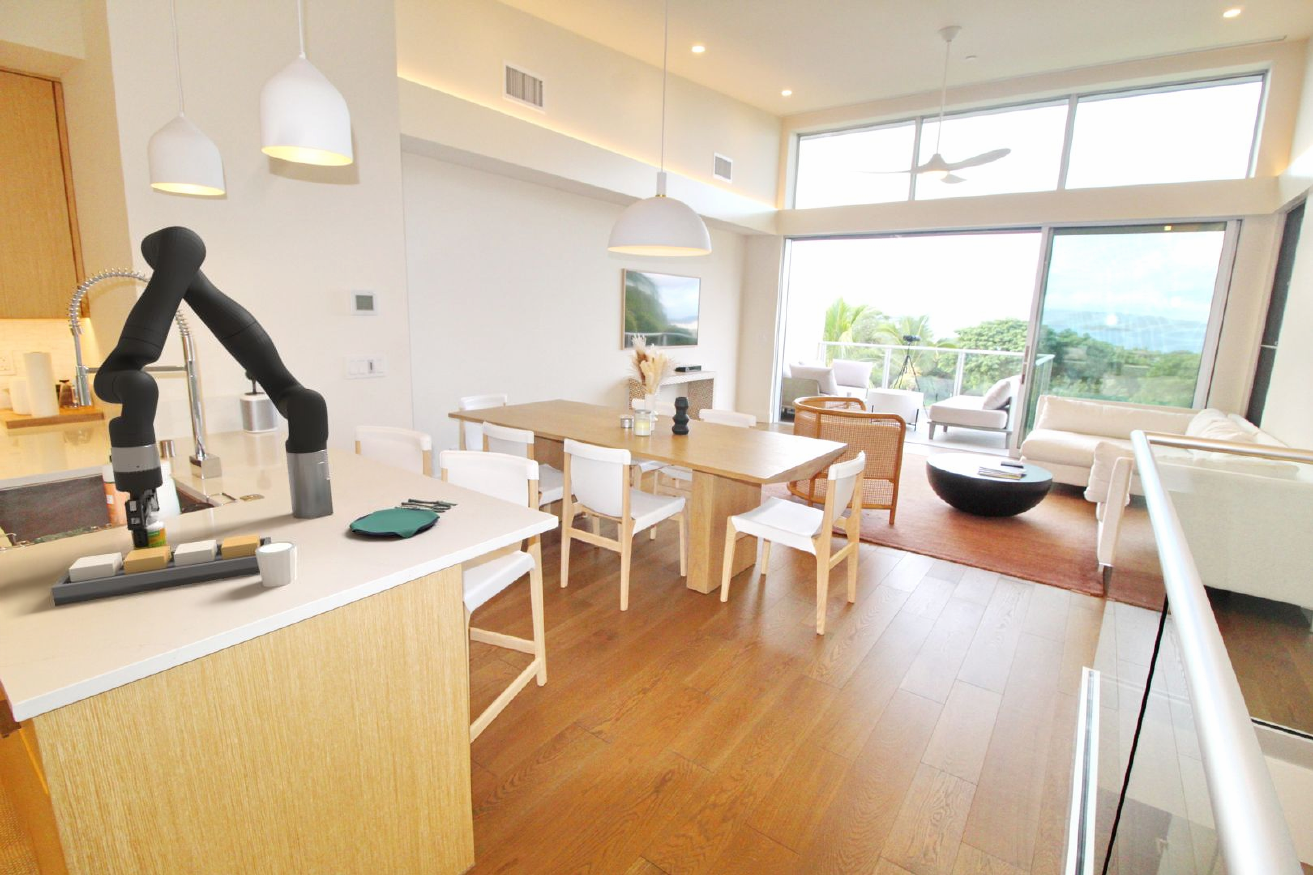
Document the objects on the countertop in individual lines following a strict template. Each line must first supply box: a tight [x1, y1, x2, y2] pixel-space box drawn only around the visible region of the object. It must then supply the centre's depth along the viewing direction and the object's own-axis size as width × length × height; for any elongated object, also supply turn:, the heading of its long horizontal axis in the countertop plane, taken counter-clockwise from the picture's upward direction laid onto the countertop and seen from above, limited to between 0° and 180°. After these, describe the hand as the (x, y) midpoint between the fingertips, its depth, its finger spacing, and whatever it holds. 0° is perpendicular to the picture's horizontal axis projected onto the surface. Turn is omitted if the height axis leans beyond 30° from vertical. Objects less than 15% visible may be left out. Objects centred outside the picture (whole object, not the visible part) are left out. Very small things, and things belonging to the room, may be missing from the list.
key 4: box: [68, 551, 123, 582], centre depth 112 cm, size 6×6×2 cm
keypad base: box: [51, 536, 272, 607], centre depth 118 cm, size 32×12×4 cm, turn 120°
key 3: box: [123, 545, 172, 574], centre depth 116 cm, size 6×6×2 cm
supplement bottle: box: [130, 511, 168, 551], centre depth 127 cm, size 5×5×10 cm
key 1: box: [221, 533, 261, 559], centre depth 123 cm, size 6×6×2 cm
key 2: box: [174, 539, 217, 567], centre depth 120 cm, size 6×6×2 cm
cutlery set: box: [348, 498, 458, 539], centre depth 154 cm, size 20×30×2 cm, turn 171°
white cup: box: [255, 541, 298, 588], centre depth 116 cm, size 7×7×7 cm
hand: (147, 540), depth 127 cm, fingers open, 8 cm apart
